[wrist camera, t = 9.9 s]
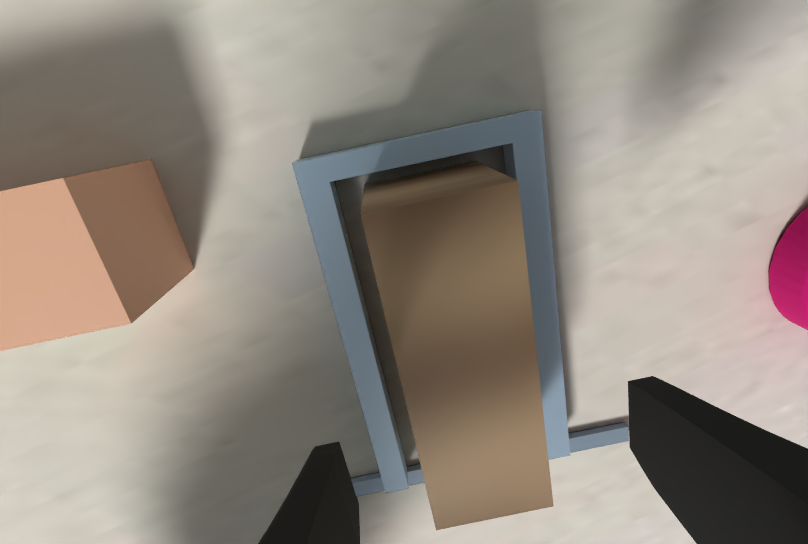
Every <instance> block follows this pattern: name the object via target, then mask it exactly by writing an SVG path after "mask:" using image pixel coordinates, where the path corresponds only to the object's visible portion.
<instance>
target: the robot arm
mask: <svg viewBox="0 0 808 544" xmlns="http://www.w3.org/2000/svg"><path fill="white" fill-rule="evenodd" d="M628 397H629V436H630V449H631V450H632V452H633V454H634V455H635V457H636V459H637V461H638V462H639V464H640V466H641V467H642V469H643V471H644V472H645V474H646V476H647V477H648V479H649V480H650V482H651V484H652V485H653V487H654V488H655V490H656V491H657V492H658V494H659V495H660V496H661V498H662V499H663V500H664V502H665V503H666V504H667V505H668V507H669V508H670V509H671V511H672V512H673V513H674V515H675V516H676V517H677V519H678V520H679V521H680V523H681V524H682V525H683V526H684V528H685V529H686V530H687V532H688V533H689V534H690V535H691V537H692V538H693V539H694V541H695V542H696V543H697V544H808V449H807V448H805V447H803V446H800V445H798V444H796V443H793V442H791V441H789V440H786V439H784V438H782V437H779V436H777V435H775V434H773V433H770V432H768V431H766V430H764V429H762V428H759V427H757V426H755V425H753V424H751V423H749V422H747V421H744V420H742V419H740V418H738V417H736V416H734V415H732V414H730V413H728V412H726V411H724V410H722V409H720V408H717V407H715V406H713V405H711V404H709V403H707V402H705V401H703V400H701V399H699V398H697V397H695V396H693V395H691V394H689V393H687V392H685V391H683V390H681V389H679V388H677V387H675V386H673V385H671V384H669V383H667V382H665V381H662V380H660V379H658V378H656V377H654V376H651V377H646V378H641V379H637V380H632V381H628ZM258 544H360V526H359V503H358V500H357V497H356V494H355V490H354V487H353V484H352V481H351V478H350V474H349V471H348V468H347V465H346V462H345V459H344V455H343V452H342V449H341V446H340V443H339V442H335V443H330V444H325V445H321V446H316V447H314V449H313V450H312V452H311V454H310V455H309V457H308V459H307V461H306V463H305V465H304V466H303V468H302V470H301V472H300V474H299V476H298V478H297V479H296V481H295V483H294V485H293V487H292V488H291V490H290V492H289V494H288V495H287V497H286V499H285V501H284V502H283V504H282V506H281V507H280V509H279V511H278V512H277V514H276V516H275V518H274V519H273V521H272V523H271V524H270V526H269V528H268V529H267V531H266V532H265V534H264V535H263V537H262V539H261V540H260V542H259V543H258Z"/></svg>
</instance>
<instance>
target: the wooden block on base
mask: <svg viewBox="0 0 808 544" xmlns="http://www.w3.org/2000/svg"><path fill="white" fill-rule="evenodd" d="M360 216H361V220H362V224H363V228H364V232H365V236H366V240H367V245H368V249H369V253H370V257H371V261H372V265H373V270H374V274H375V278H376V282H377V286H378V290H379V294H380V299H381V303H382V307H383V311H384V315H385V319H386V323H387V328H388V332H389V336H390V340H391V344H392V348H393V353H394V357H395V361H396V365H397V369H398V373H399V377H400V382H401V386H402V390H403V394H404V398H405V402H406V406H407V411H408V415H409V419H410V423H411V427H412V431H413V436H414V440H415V444H416V448H417V452H418V456H419V460H420V465H421V469H422V473H423V477H424V481H425V485H426V489H427V494H428V498H429V502H430V506H431V510H432V514H433V518H434V523H435V527H436V530H440V529H445V528H449V527H454V526H459V525H464V524H469V523H474V522H479V521H484V520H488V519H493V518H498V517H503V516H508V515H513V514H518V513H523V512H527V511H532V510H537V509H542V508H547V507H552V506H553V498H552V489H551V479H550V470H549V461H548V452H547V443H546V433H545V424H544V415H543V406H542V397H541V387H540V378H539V369H538V360H537V351H536V341H535V332H534V323H533V314H532V305H531V295H530V286H529V277H528V268H527V259H526V249H525V240H524V231H523V222H522V213H521V203H520V194H519V185H518V181H517V180H515V179H513V178H511V177H509V176H507V175H505V174H503V173H500V172H498V171H496V170H494V169H492V168H490V167H488V166H486V165H483V164H481V163H479V162H477V161H473V162H469V163H464V164H459V165H455V166H450V167H445V168H441V169H436V170H431V171H427V172H422V173H417V174H413V175H408V176H403V177H399V178H394V179H389V180H384V181H380V182H375V183H370V184H366V185H364V192H363V199H362V206H361V212H360Z"/></svg>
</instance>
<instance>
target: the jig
mask: <svg viewBox="0 0 808 544" xmlns="http://www.w3.org/2000/svg"><path fill="white" fill-rule="evenodd" d="M501 145H503V149H504V158H505V166H506V175H507V176H509V177H511V178H513V179H515V180H517V181H518V185H519V194H520V203H521V213H522V222H523V231H524V240H525V249H526V259H527V268H528V277H529V286H530V295H531V305H532V314H533V323H534V332H535V341H536V351H537V360H538V369H539V378H540V387H541V397H542V406H543V415H544V424H545V433H546V443H547V452H548V460H550V459H554V458H559V457H564V456H569V455H570V453H572V452H577V451H582V450H587V449H592V448H596V447H601V446H606V445H611V444H616V443H621V442H626V441H629V433H628V426H627V424H626V423H625V422H624V423H619V424H614V425H609V426H604V427H599V428H594V429H589V430H585V431H580V432H575V433H570V434H568V423H567V411H566V399H565V387H564V375H563V363H562V351H561V340H560V328H559V316H558V304H557V292H556V280H555V268H554V256H553V244H552V233H551V221H550V209H549V197H548V185H547V173H546V161H545V149H544V138H543V126H542V114H541V110H529V111H524V112H519V113H514V114H510V115H505V116H500V117H496V118H491V119H486V120H482V121H477V122H472V123H468V124H463V125H458V126H454V127H449V128H444V129H440V130H435V131H430V132H425V133H421V134H416V135H411V136H407V137H402V138H397V139H393V140H388V141H383V142H379V143H374V144H369V145H365V146H360V147H355V148H350V149H346V150H341V151H336V152H332V153H327V154H322V155H318V156H313V157H308V158H304V159H299V160H297V161H295V162H294V163H292V165H293V168H294V172H295V175H296V179H297V182H298V186H299V189H300V193H301V196H302V200H303V204H304V207H305V211H306V214H307V218H308V221H309V225H310V228H311V232H312V235H313V239H314V242H315V246H316V249H317V253H318V256H319V260H320V263H321V267H322V270H323V274H324V277H325V281H326V284H327V288H328V291H329V295H330V299H331V302H332V306H333V309H334V313H335V316H336V320H337V323H338V327H339V330H340V334H341V337H342V341H343V344H344V348H345V351H346V355H347V358H348V362H349V365H350V369H351V372H352V376H353V379H354V383H355V387H356V390H357V394H358V397H359V401H360V404H361V408H362V411H363V415H364V418H365V422H366V425H367V429H368V432H369V436H370V439H371V443H372V446H373V450H374V453H375V457H376V460H377V464H378V467H379V471H380V473H375V474H370V475H365V476H360V477H355V478H351V481H352V484H353V487H354V490H355V494H356V497H357V496H362V495H367V494H372V493H376V492H381V491H385V492H386V493H388V492H393V491H398V490H403V489H408V488H409V486H411V485H416V484H420V483H425V481H424V477H423V473H422V469H421V465H420V464H419V465H414V466H409V467H407V466H406V462H405V458H404V454H403V450H402V446H401V442H400V438H399V434H398V430H397V426H396V422H395V419H394V415H393V411H392V407H391V403H390V399H389V395H388V391H387V387H386V383H385V379H384V375H383V371H382V367H381V364H380V360H379V356H378V352H377V348H376V344H375V340H374V336H373V332H372V328H371V324H370V320H369V316H368V312H367V309H366V305H365V301H364V297H363V293H362V289H361V285H360V281H359V277H358V273H357V269H356V265H355V261H354V257H353V254H352V250H351V246H350V242H349V238H348V234H347V230H346V226H345V222H344V218H343V214H342V210H341V206H340V202H339V199H338V195H337V191H336V187H335V183H334V181H336V180H341V179H346V178H350V177H355V176H360V175H364V174H369V173H374V172H379V171H383V170H388V169H393V168H397V167H402V166H407V165H411V164H416V163H421V162H426V161H430V160H435V159H440V158H444V157H449V156H454V155H458V154H463V153H468V152H473V151H477V150H482V149H487V148H491V147H496V146H501Z"/></svg>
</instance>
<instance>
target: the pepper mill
mask: <svg viewBox="0 0 808 544" xmlns="http://www.w3.org/2000/svg"><path fill="white" fill-rule="evenodd" d="M769 291H770V293H771V296H772V299H773V302H774V304H775V306H776V308H777V309H778V310H779V312H780V313H781V314H782V315H783V316H784V317H785V318H787V319H788V320H789V321H791V322H793V323H795V324H797V325H799V326H801V327H803V328H805V329H807V330H808V207H807V208H806V209H805V210H803V211H802V212H801V213H800V214H799V215H798V216H797V217H796V218H795V219H794V221H793V222H792V223H791V224H790V225H789V226H788V228H787V229H786V231H785V232H784V234H783V236H782V237H781V239H780V241H779V242H778V244H777V246H776V248H775V251H774V254H773V258H772V261H771V265H770V268H769Z"/></svg>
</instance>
